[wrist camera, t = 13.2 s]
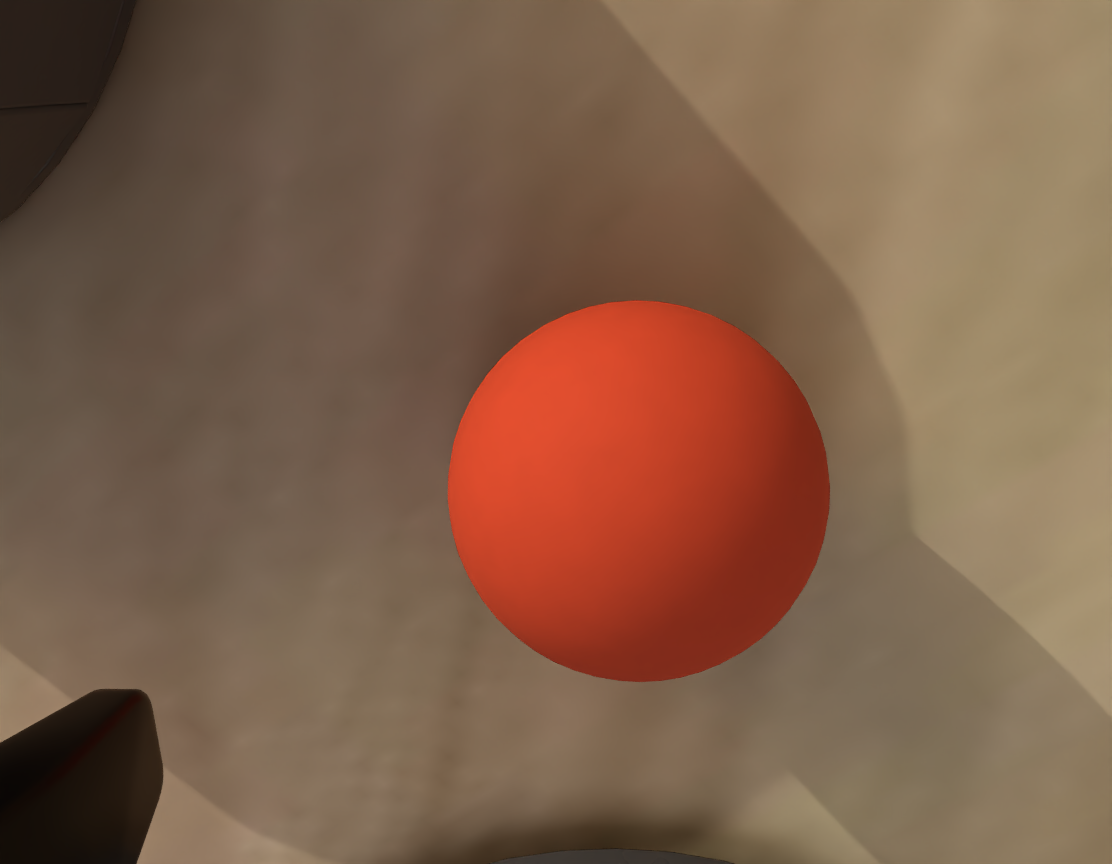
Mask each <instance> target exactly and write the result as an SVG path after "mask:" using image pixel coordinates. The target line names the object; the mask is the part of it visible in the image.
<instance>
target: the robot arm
mask: <svg viewBox="0 0 1112 864" xmlns="http://www.w3.org/2000/svg"><path fill="white" fill-rule="evenodd" d="M162 784H163V763H162V758H161V752H160V747H159V741H158V736H157V731H156V725H155V720H154V714H153V709H152V705H151V702H150V699H149V697H148V695H147V694H146V693H144V692H143V691H141V690H139V689H99V690H94V691H92V692H90V693H88V694H87V695H85V696H83V697H81V698H80V699H78V700H76V701H74V702H72V703H71V704H69V705H67V706H65V707H63V708H62V709H60V710H58V711H56V712H54V713H53V714H51V715H49V716H47V717H46V718H44V719H42V720H40V721H38V722H37V723H35V724H33V725H31V726H29V727H28V728H26V729H24V730H22V731H21V732H19V733H17V734H15V735H13V736H12V737H10V738H8V739H6V740H4V741H3V742H1V743H0V864H137V861H138V858H139V855H140V852H141V849H142V846H143V843H144V841H145V838H146V835H147V832H148V829H149V826H150V823H151V821H152V818H153V815H154V812H155V809H156V806H157V803H158V801H159V797H160V794H161V790H162Z"/></svg>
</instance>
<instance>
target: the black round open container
mask: <svg viewBox="0 0 1112 864" xmlns="http://www.w3.org/2000/svg"><path fill="white" fill-rule="evenodd" d="M135 1H136V0H0V222H2V221H3V220H4V219H5V218H7V217H8V216H9V215H10V214H12V213H13V212H14V211H15V210H17V209H18V208H19V207H20V206H21V205H22V203H23V202H24V201H25V200H26V199H27V198H28V197H29V196H30V195H31V193H32V192H33V191H34V190H35V189H36V188H37V187H38V186H39V185H40V184H41V182H42V181H43V180H44V179H45V178H46V177H47V176H48V175H49V174H50V172H51V171H52V170H53V169H54V168H55V167H56V166H57V165H58V164H59V162H60V160H61V159H62V157H63V156H64V154H65V153H66V151H67V150H68V148H69V147H70V145H71V144H72V142H73V141H74V139H75V138H76V136H77V134H78V133H79V131H80V130H81V128H82V127H83V125H84V124H85V122H86V121H87V119H88V118H89V116H90V115H91V113H92V112H93V109H94V107H95V105H96V103H97V101H98V99H99V96H100V94H101V92H102V90H103V88H104V86H105V83H106V81H107V79H108V77H109V75H110V73H111V70H112V68H113V66H114V64H115V62H116V59H117V57H118V55H119V53H120V51H121V47H122V44H123V41H124V37H125V34H126V31H127V27H128V24H129V21H130V17H131V14H132V11H133V7H134V4H135Z"/></svg>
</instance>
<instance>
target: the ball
mask: <svg viewBox="0 0 1112 864" xmlns="http://www.w3.org/2000/svg"><path fill="white" fill-rule="evenodd" d="M829 501H830V483H829V474H828V466H827V457H826V451H825V448H824V444H823V440H822V437H821V433H820V430H819V428H818V425H817V423H816V421H815V418H814V416H813V414H812V412H811V409H810V407H809V405H808V403H807V401H806V399H805V397H804V396H803V394H802V392H801V391H800V389H799V388H798V386H797V384H796V383H795V381H794V380H793V379H792V377H791V376H790V375H789V374H788V373H787V371H786V370H785V369H784V368H783V367H782V365H781V364H780V363H779V362H778V361H777V360H776V359H775V358H774V357H773V356H772V355H771V354H770V353H769V352H768V351H766V350H765V349H764V348H763V347H762V346H761V345H760V344H759V343H758V342H756V341H755V340H754V339H753V338H751V337H750V336H748V335H747V334H745V333H744V332H742V331H741V330H739V329H738V328H736V327H735V326H733V325H731V324H729V323H727V322H725V321H723V320H721V319H719V318H717V317H715V316H712V315H710V314H707V313H704V312H701V311H698V310H695V309H692V308H689V307H685V306H680V305H675V304H669V303H664V302H655V301H639V300H635V301H620V302H610V303H605V304H600V305H595V306H590V307H587V308H584V309H581V310H578V311H575V312H572V313H569V314H566V315H564V316H562V317H560V318H558V319H556V320H554V321H552V322H550V323H548V324H545V325H544V326H542V327H541V328H539V329H538V330H536V331H535V332H533V333H532V334H530V335H528V336H527V337H525V338H524V339H522V340H521V341H520V342H519V343H518V344H516V345H515V346H514V347H513V348H512V349H511V350H509V351H508V352H507V353H506V354H505V355H504V356H503V357H502V358H501V359H500V360H499V361H498V362H497V364H496V365H495V366H494V367H493V368H492V369H491V370H490V371H489V373H488V374H487V375H486V377H485V378H484V380H483V381H482V383H481V384H480V386H479V387H478V389H477V390H476V392H475V393H474V395H473V397H472V399H471V401H470V403H469V405H468V407H467V409H466V411H465V413H464V415H463V417H462V419H461V422H460V425H459V428H458V431H457V434H456V437H455V440H454V444H453V449H452V455H451V461H450V468H449V475H448V504H449V513H450V521H451V526H452V532H453V536H454V539H455V543H456V547H457V550H458V554H459V556H460V558H461V561H462V563H463V565H464V568H465V570H466V572H467V574H468V576H469V578H470V580H471V582H472V584H473V585H474V587H475V589H476V590H477V592H478V594H479V595H480V597H481V599H482V600H483V602H484V603H485V604H486V605H487V607H488V608H489V609H490V610H491V612H492V613H493V614H494V615H495V617H496V618H497V619H498V620H499V621H500V622H501V623H502V624H503V625H504V626H505V627H507V628H508V629H509V630H510V631H511V632H512V633H513V634H514V635H515V636H516V637H517V638H518V639H520V640H521V641H522V642H524V643H525V644H526V645H528V646H529V647H530V648H532V649H533V650H534V651H536V652H538V653H539V654H541V655H543V656H545V657H546V658H548V659H550V660H552V661H553V662H556V663H558V664H560V665H563V666H565V667H567V668H570V669H572V670H575V671H578V672H582V673H585V674H589V675H592V676H596V677H601V678H606V679H612V680H618V681H633V682H647V681H662V680H668V679H675V678H681V677H684V676H688V675H691V674H695V673H699V672H702V671H704V670H706V669H709V668H711V667H714V666H716V665H719V664H721V663H723V662H725V661H727V660H729V659H730V658H732V657H734V656H736V655H738V654H740V653H741V652H743V651H744V650H746V649H747V648H749V647H750V646H751V645H753V644H754V643H756V642H757V641H759V640H760V639H761V638H762V637H763V636H764V635H765V634H767V633H768V632H769V631H770V630H771V629H772V628H773V627H774V626H775V625H776V624H777V623H778V622H779V621H780V620H781V618H782V617H783V616H784V615H785V614H786V613H787V612H788V610H789V609H790V608H791V606H792V605H793V603H794V602H795V600H796V599H797V597H798V596H799V594H800V593H801V591H802V590H803V588H804V587H805V585H806V584H807V581H808V579H809V577H810V575H811V573H812V571H813V569H814V567H815V565H816V563H817V559H818V556H819V553H820V550H821V547H822V544H823V540H824V536H825V531H826V526H827V520H828V514H829Z"/></svg>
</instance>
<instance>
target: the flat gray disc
mask: <svg viewBox="0 0 1112 864" xmlns="http://www.w3.org/2000/svg"><path fill="white" fill-rule="evenodd" d="M489 864H734V863H730V862H726V861H722V860H716V859H710V858H704V857H698V856H692V855H686V854H680V853H674V852H663V851H647V850H631V849H594V850H569V851H557V852H550V853H543V854H536V855H529V856H522V857H515V858H509V859H504V860H500V861H497V862H493V863H489Z"/></svg>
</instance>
